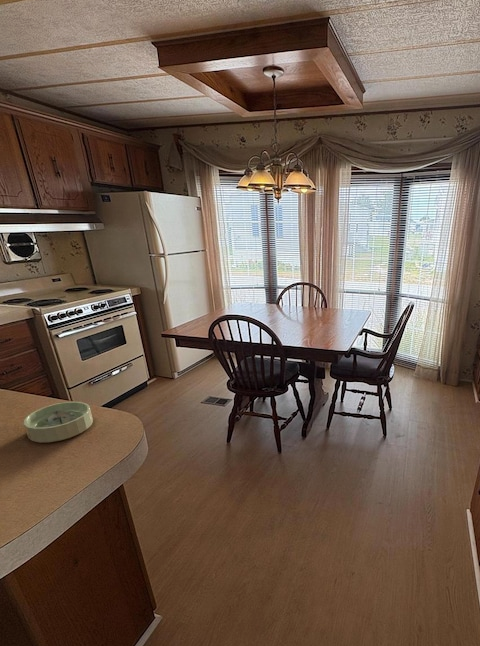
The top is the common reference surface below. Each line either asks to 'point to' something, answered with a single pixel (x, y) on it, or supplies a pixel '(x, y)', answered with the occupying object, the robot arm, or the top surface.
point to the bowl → (60, 432)
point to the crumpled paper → (59, 418)
